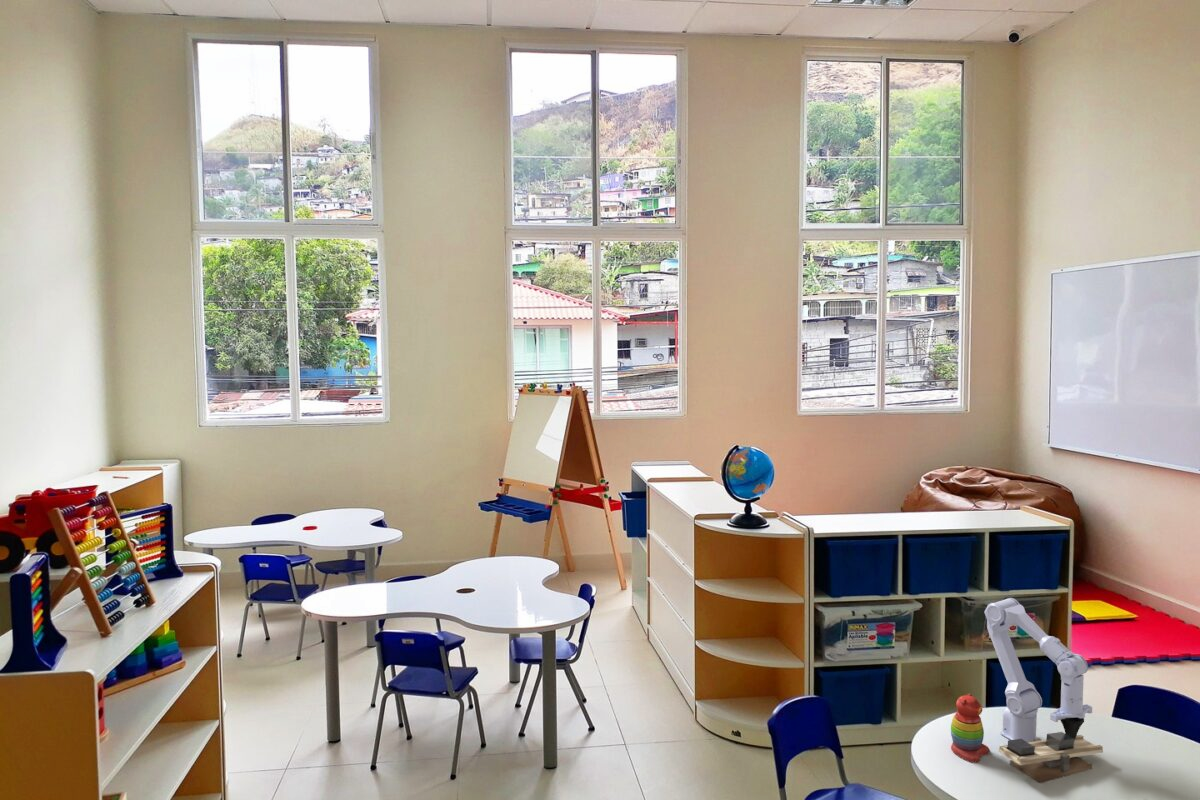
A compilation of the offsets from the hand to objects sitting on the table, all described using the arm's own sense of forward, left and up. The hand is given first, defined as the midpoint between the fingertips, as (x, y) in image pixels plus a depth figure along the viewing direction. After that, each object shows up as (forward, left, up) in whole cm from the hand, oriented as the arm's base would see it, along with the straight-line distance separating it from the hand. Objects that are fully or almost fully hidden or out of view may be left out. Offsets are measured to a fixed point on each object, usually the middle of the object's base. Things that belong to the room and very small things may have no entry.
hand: (1070, 739), depth 255 cm
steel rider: (0, -4, -2) cm, 5 cm away
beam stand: (0, -8, -7) cm, 10 cm away
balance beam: (0, -8, -2) cm, 8 cm away
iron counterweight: (0, -19, 0) cm, 19 cm away
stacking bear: (-16, -24, -7) cm, 29 cm away
